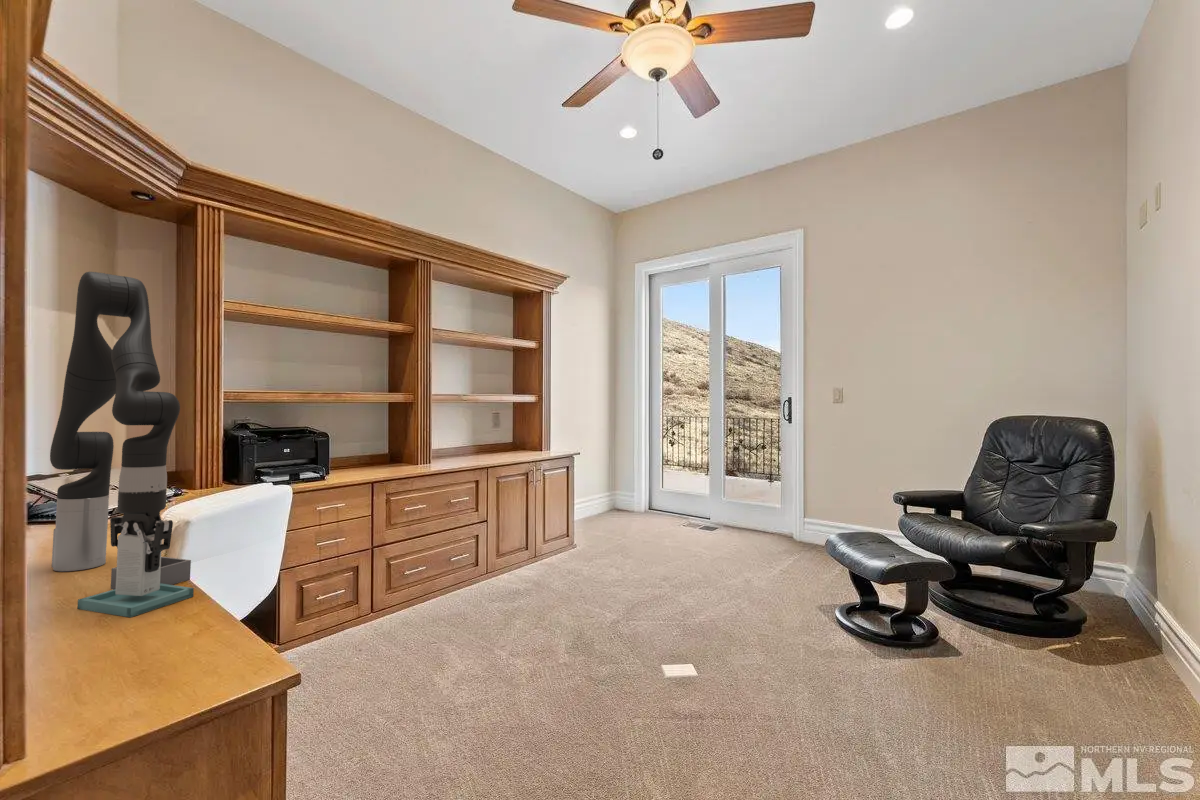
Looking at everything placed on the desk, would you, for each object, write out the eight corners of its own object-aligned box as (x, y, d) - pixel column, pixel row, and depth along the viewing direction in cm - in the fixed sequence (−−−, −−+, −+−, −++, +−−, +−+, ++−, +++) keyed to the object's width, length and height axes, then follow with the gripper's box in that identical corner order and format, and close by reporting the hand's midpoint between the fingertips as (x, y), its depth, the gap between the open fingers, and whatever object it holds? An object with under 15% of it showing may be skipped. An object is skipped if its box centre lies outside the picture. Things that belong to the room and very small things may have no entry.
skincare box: (160, 589, 109) (163, 532, 109) (140, 596, 105) (143, 536, 105) (134, 588, 110) (137, 530, 110) (113, 595, 106) (116, 535, 106)
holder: (110, 589, 114) (111, 568, 114) (159, 575, 124) (160, 556, 124) (142, 593, 112) (143, 572, 112) (190, 579, 122) (190, 560, 122)
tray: (77, 608, 103) (77, 599, 103) (143, 589, 115) (144, 581, 115) (130, 617, 100) (131, 607, 100) (193, 596, 111) (193, 588, 111)
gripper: (96, 488, 106) (91, 571, 106) (149, 492, 102) (145, 578, 102) (137, 483, 113) (133, 561, 113) (188, 487, 110) (184, 567, 109)
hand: (139, 569), depth 107 cm, fingers closed on skincare box, 6 cm apart
